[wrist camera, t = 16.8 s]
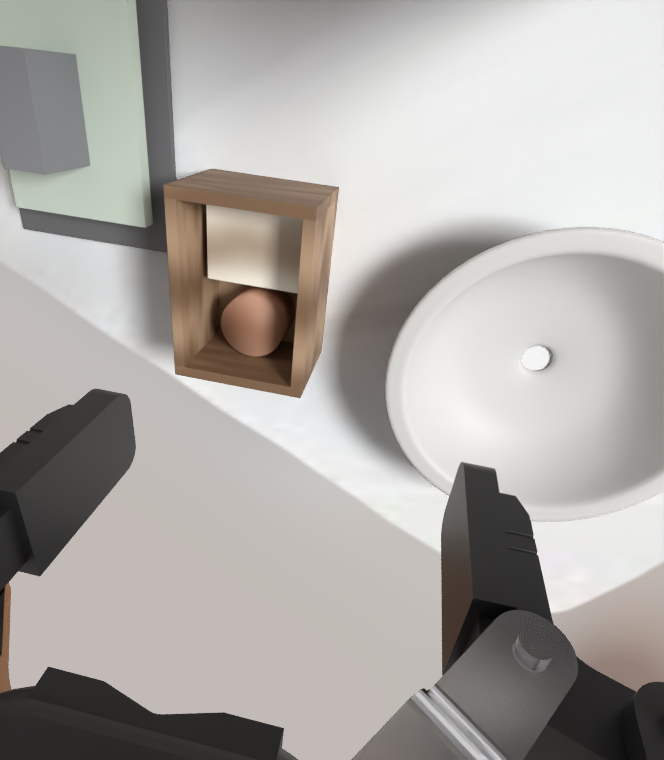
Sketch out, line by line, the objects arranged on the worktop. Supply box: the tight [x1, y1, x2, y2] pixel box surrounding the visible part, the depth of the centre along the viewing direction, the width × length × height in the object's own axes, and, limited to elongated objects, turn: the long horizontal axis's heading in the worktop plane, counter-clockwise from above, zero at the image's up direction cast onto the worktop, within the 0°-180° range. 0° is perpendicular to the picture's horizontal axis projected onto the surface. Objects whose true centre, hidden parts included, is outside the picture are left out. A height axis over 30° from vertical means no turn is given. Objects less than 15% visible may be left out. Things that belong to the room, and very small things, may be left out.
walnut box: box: [163, 169, 339, 398], centre depth 38 cm, size 14×10×8 cm
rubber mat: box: [20, 0, 176, 252], centre depth 38 cm, size 20×14×1 cm
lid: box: [0, 0, 153, 228], centre depth 34 cm, size 15×11×7 cm
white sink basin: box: [385, 227, 664, 521], centre depth 39 cm, size 24×24×7 cm
